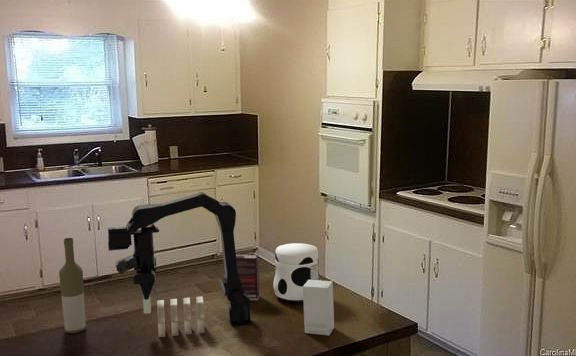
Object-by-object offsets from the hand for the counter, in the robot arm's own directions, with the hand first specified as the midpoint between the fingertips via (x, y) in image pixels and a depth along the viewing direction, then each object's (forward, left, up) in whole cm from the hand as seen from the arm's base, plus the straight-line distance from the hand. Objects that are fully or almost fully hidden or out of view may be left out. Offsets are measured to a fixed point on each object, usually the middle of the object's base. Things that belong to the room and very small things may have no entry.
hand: (146, 296), depth 172 cm
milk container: (-52, -20, -13) cm, 57 cm away
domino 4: (-12, 0, -12) cm, 17 cm away
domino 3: (-8, 0, -12) cm, 15 cm away
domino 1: (0, 0, -4) cm, 5 cm away
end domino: (-16, 0, -12) cm, 20 cm away
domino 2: (-4, 0, -13) cm, 13 cm away
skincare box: (-52, +10, -13) cm, 54 cm away
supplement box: (-34, -23, -13) cm, 43 cm away
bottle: (+23, -9, -13) cm, 28 cm away
